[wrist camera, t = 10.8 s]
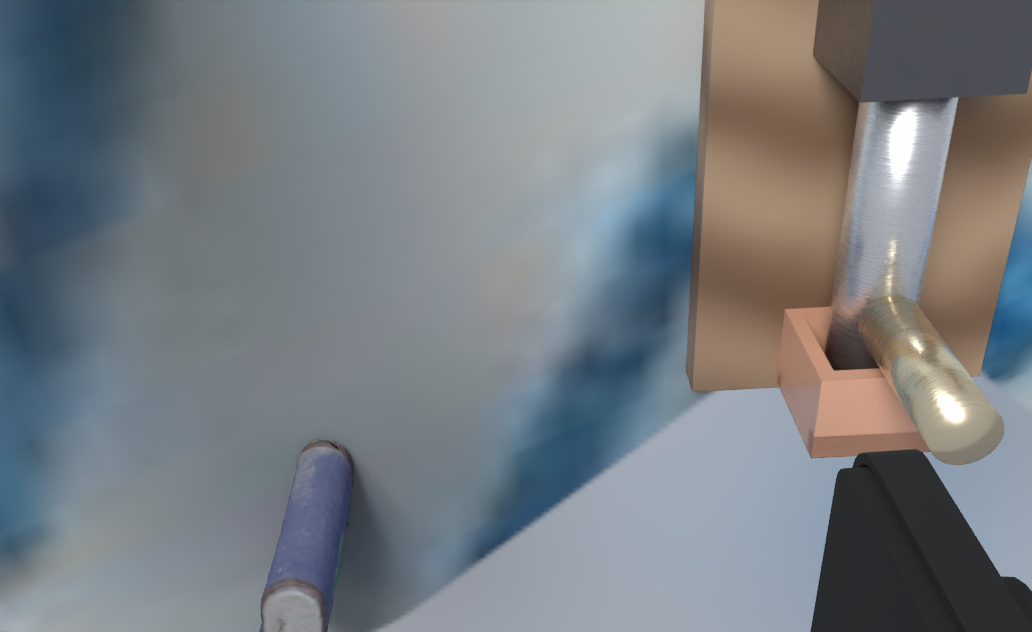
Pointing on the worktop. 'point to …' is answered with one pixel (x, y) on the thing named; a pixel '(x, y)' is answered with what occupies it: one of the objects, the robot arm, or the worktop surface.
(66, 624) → the worktop surface
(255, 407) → the worktop surface
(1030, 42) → the outer sleeve
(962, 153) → the base board
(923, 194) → the brushed metal peg
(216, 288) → the worktop surface
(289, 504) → the flask
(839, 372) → the socket block
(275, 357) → the worktop surface
